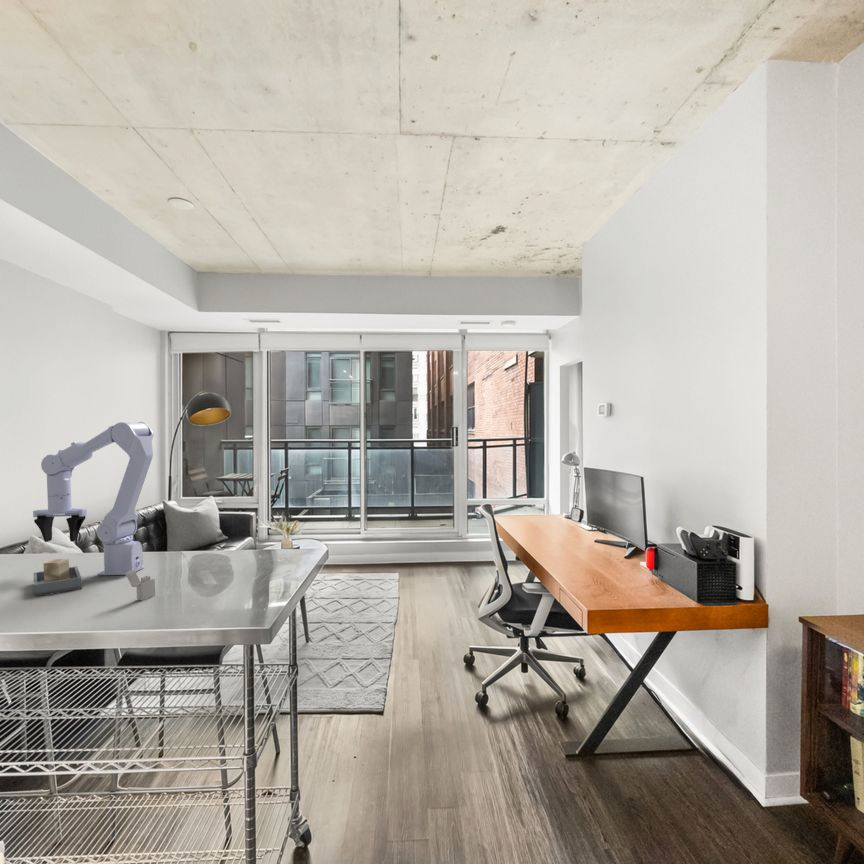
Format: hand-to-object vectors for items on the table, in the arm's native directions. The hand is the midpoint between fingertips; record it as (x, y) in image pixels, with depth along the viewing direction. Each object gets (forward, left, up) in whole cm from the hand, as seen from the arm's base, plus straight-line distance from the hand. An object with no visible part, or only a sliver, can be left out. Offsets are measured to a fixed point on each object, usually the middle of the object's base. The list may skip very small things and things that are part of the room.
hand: (60, 540), depth 160 cm
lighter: (-38, +27, -9) cm, 47 cm away
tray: (-9, +15, -9) cm, 20 cm away
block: (-9, +15, -8) cm, 19 cm away
